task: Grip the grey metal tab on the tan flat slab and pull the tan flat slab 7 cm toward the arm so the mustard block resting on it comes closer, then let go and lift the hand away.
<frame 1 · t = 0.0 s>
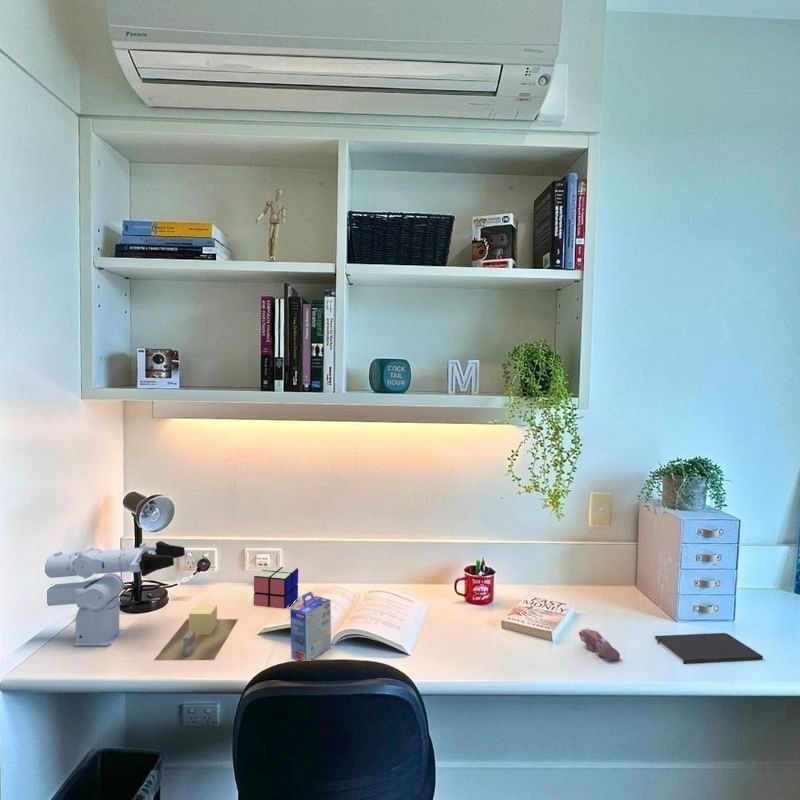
hand: (178, 556, 141), 22 cm above the table, tool horizontal, fingers open, 7 cm apart
puzzle cube: (276, 605, 164), on the table
notebook: (705, 652, 141), on the table
reddish brown lumpy piece: (598, 654, 137), on the table
ink cartridge box: (310, 653, 136), on the table
block: (203, 629, 144), point 1 cm above the table, touching tan flat slab
tan flat slab: (199, 631, 140), point 3 cm above the table, slide at 0.0 cm, touching block
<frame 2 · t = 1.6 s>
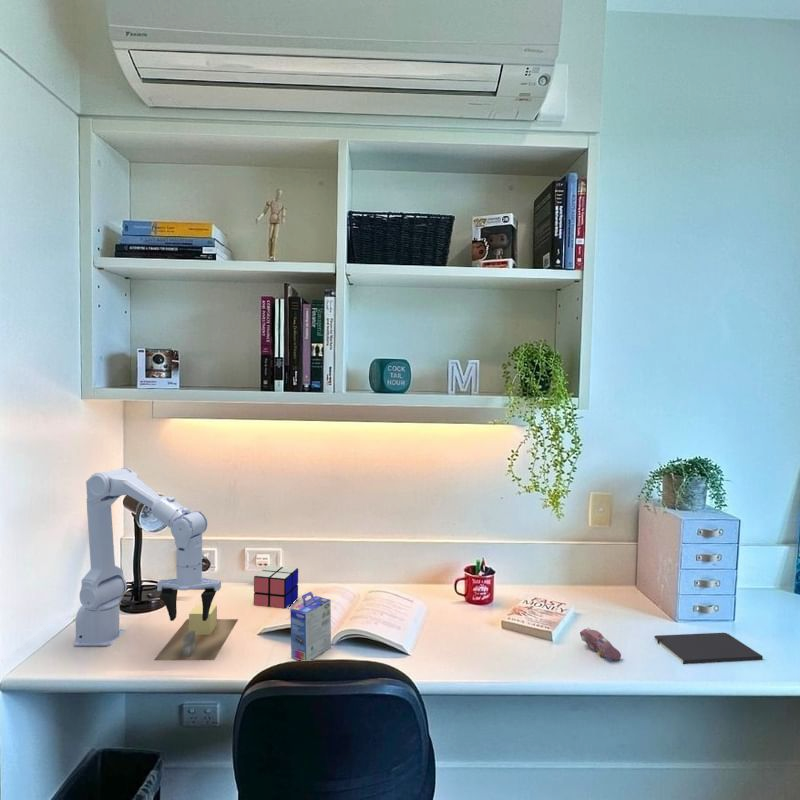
hand: (189, 619, 132), 9 cm above the table, tool pointing down, fingers open, 7 cm apart
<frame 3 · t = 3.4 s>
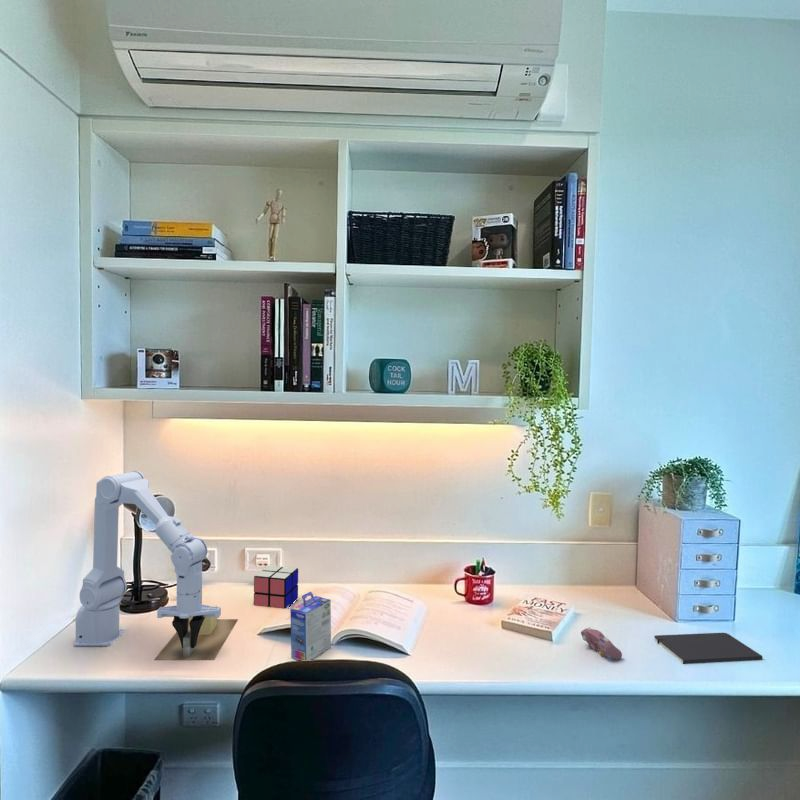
hand: (189, 646, 132), 3 cm above the table, tool pointing down, fingers closed on tan flat slab, 2 cm apart
tan flat slab: (199, 631, 140), point 3 cm above the table, slide at 0.0 cm, touching block, gripper
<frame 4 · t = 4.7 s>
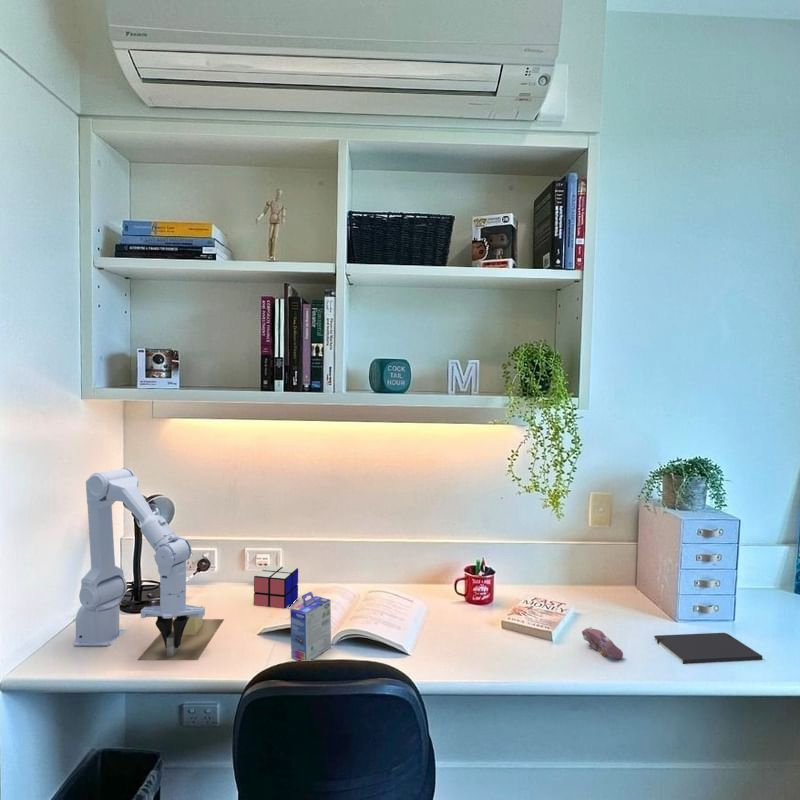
hand: (173, 646, 132), 3 cm above the table, tool pointing down, fingers closed on tan flat slab, 2 cm apart
block: (188, 629, 144), point 1 cm above the table, touching tan flat slab
tan flat slab: (184, 631, 139), point 3 cm above the table, slide at 3.9 cm, touching block, gripper
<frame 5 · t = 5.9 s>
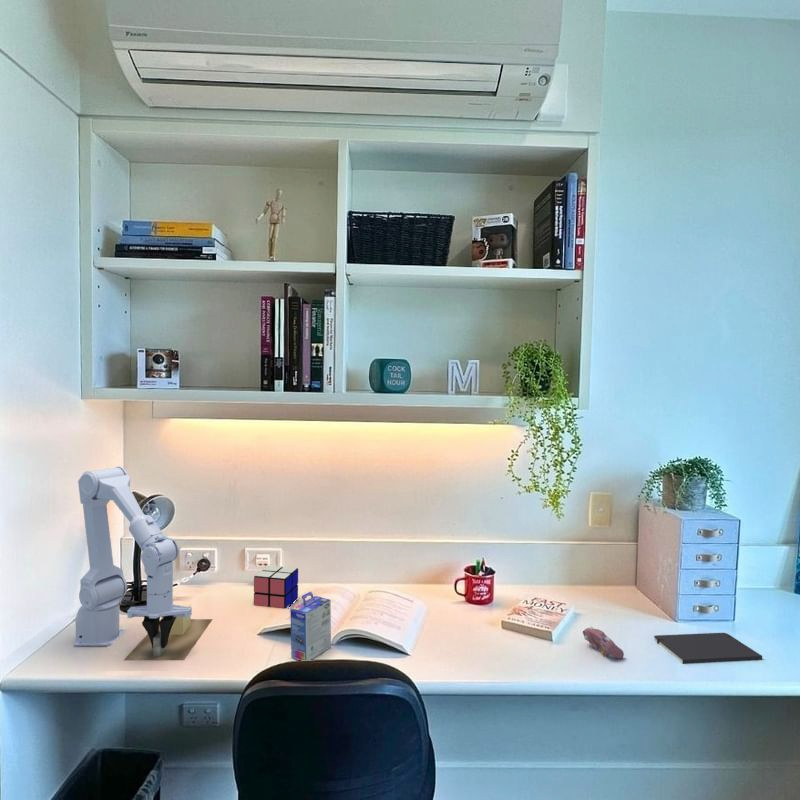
hand: (159, 646, 132), 3 cm above the table, tool pointing down, fingers closed on tan flat slab
block: (176, 629, 144), point 1 cm above the table, touching tan flat slab
tan flat slab: (171, 631, 139), point 3 cm above the table, slide at 7.0 cm, touching block, gripper
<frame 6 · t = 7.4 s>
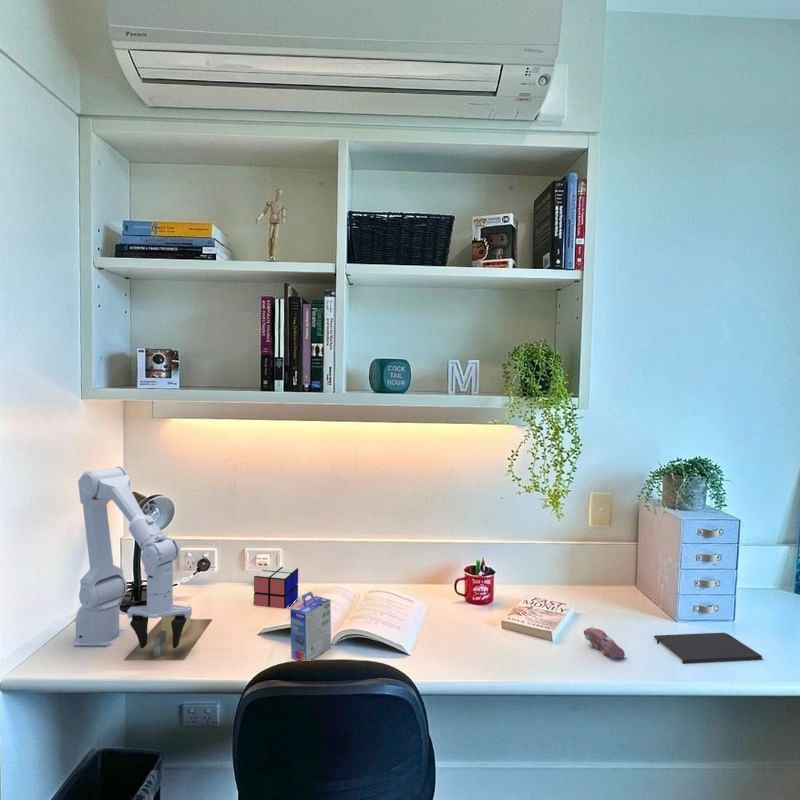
hand: (159, 646, 132), 3 cm above the table, tool pointing down, fingers open, 7 cm apart
tan flat slab: (171, 631, 139), point 3 cm above the table, slide at 7.0 cm, touching block
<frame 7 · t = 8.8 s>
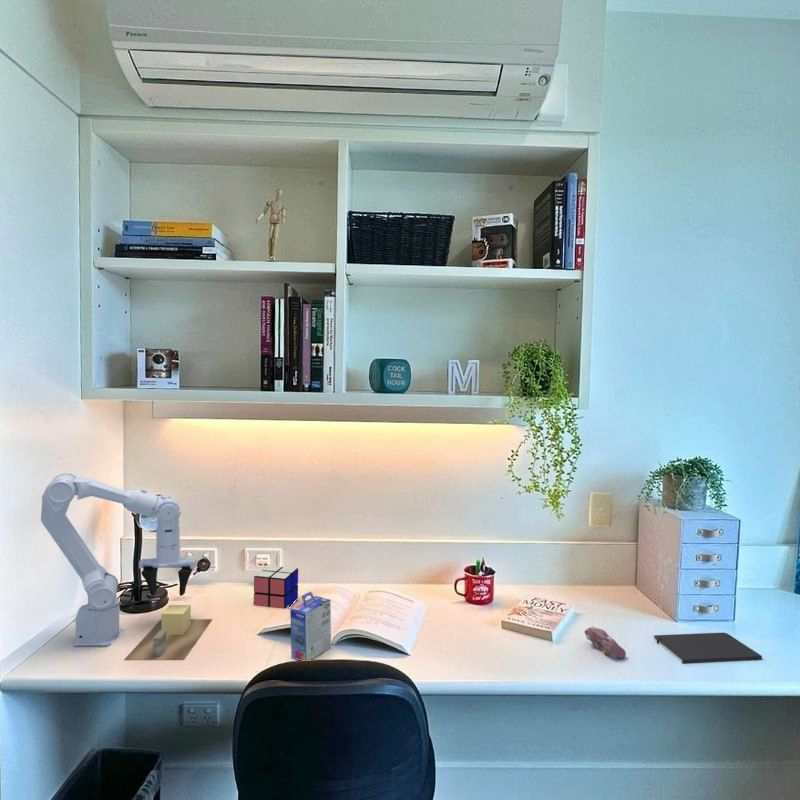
hand: (167, 594, 147), 9 cm above the table, tool pointing down, fingers open, 7 cm apart
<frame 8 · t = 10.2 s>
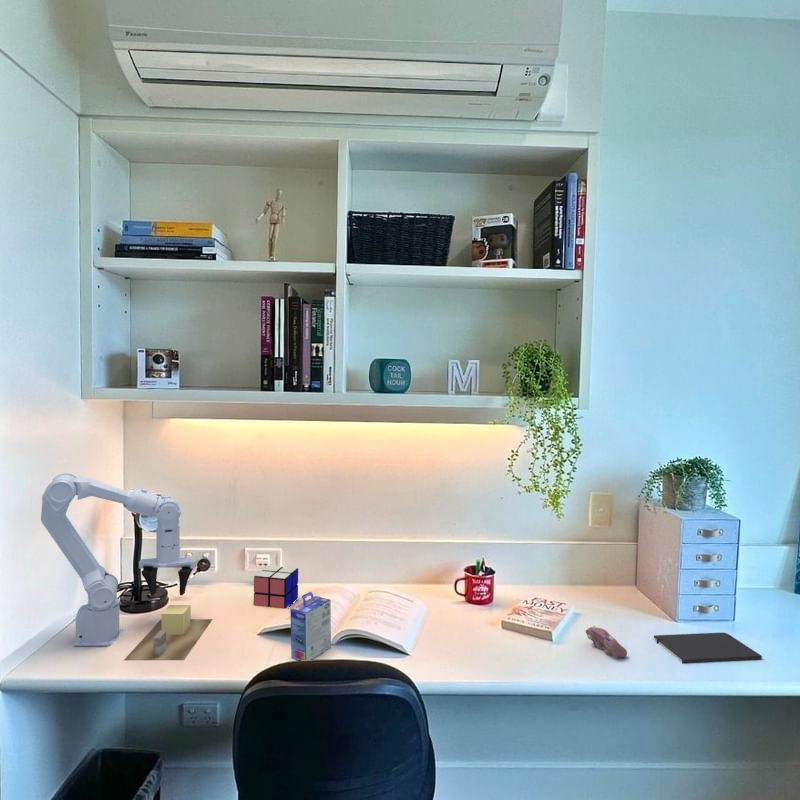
hand: (167, 594, 147), 9 cm above the table, tool pointing down, fingers open, 7 cm apart
at the end: tan flat slab slide at 7.0 cm; block inside the target area (0.5 cm from its centre), point 1.2 cm above the table; block touching tan flat slab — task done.
